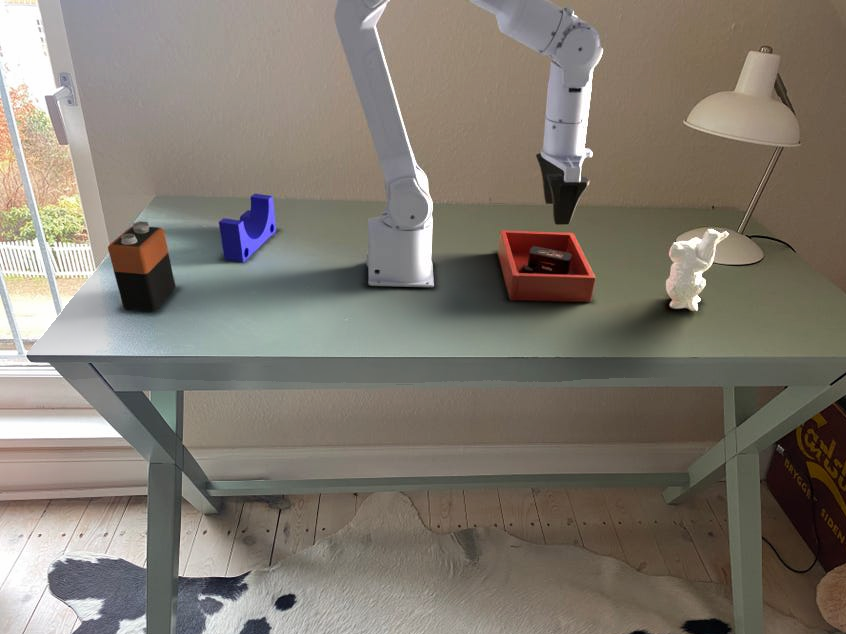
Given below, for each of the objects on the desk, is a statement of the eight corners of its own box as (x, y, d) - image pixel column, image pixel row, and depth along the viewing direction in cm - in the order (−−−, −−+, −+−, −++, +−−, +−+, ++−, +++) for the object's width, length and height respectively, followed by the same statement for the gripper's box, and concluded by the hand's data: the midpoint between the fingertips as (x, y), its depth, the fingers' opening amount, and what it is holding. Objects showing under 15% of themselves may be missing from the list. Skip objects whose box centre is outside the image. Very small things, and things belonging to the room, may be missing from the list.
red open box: (509, 300, 96) (512, 275, 94) (497, 252, 109) (500, 230, 106) (590, 302, 97) (595, 277, 95) (569, 255, 110) (573, 232, 108)
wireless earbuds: (525, 263, 105) (527, 244, 103) (569, 272, 104) (572, 253, 102) (518, 275, 101) (520, 256, 100) (563, 285, 100) (566, 266, 98)
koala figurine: (699, 294, 102) (721, 221, 96) (717, 316, 97) (742, 241, 90) (647, 293, 101) (665, 220, 94) (662, 316, 96) (683, 240, 89)
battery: (177, 288, 91) (163, 220, 85) (156, 313, 86) (139, 242, 80) (145, 285, 91) (129, 217, 85) (122, 310, 85) (103, 239, 80)
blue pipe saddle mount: (249, 227, 109) (245, 192, 106) (276, 231, 109) (272, 196, 105) (214, 258, 99) (208, 220, 96) (243, 262, 99) (238, 224, 96)
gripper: (608, 133, 84) (595, 233, 92) (583, 104, 96) (573, 194, 103) (553, 133, 83) (544, 233, 91) (535, 104, 95) (529, 194, 103)
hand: (557, 213), depth 97 cm, fingers open, 7 cm apart
